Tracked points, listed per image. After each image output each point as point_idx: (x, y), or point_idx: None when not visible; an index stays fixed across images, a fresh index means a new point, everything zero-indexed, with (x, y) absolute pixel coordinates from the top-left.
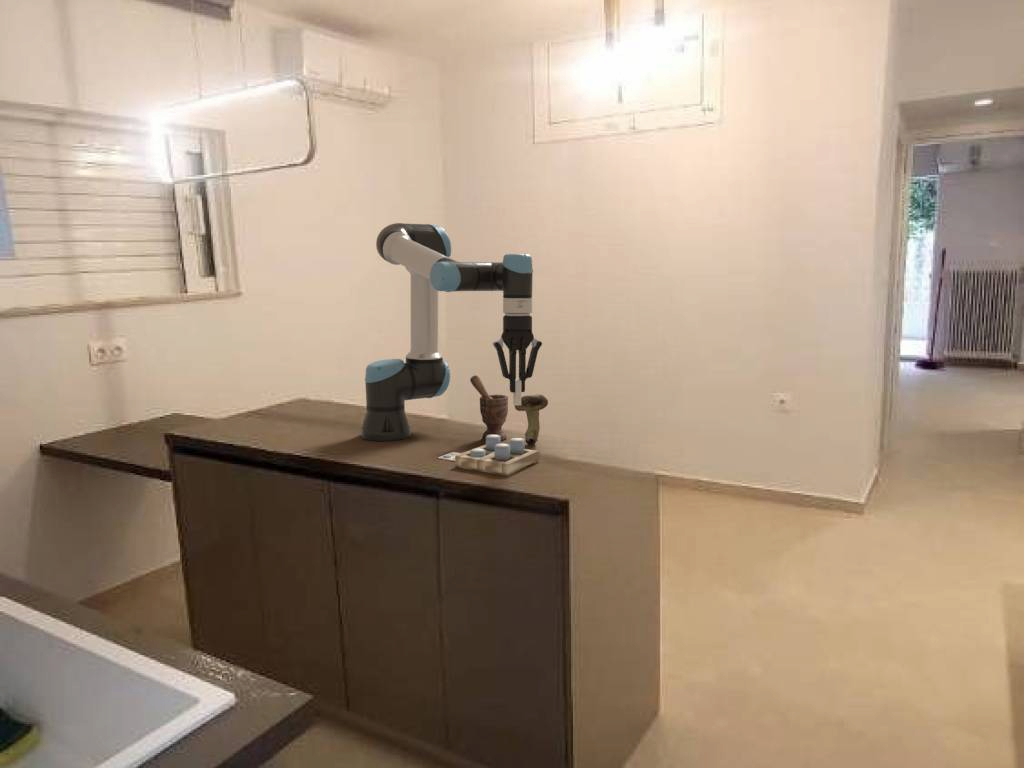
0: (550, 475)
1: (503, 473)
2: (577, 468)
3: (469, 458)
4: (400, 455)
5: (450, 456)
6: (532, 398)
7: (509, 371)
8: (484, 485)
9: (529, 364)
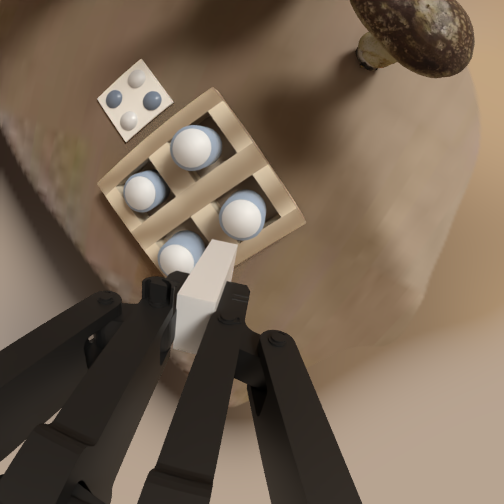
0: (271, 316)
1: None
2: (350, 297)
3: (119, 215)
4: (51, 60)
5: (120, 100)
6: (417, 35)
7: (124, 327)
8: None
9: (264, 435)
